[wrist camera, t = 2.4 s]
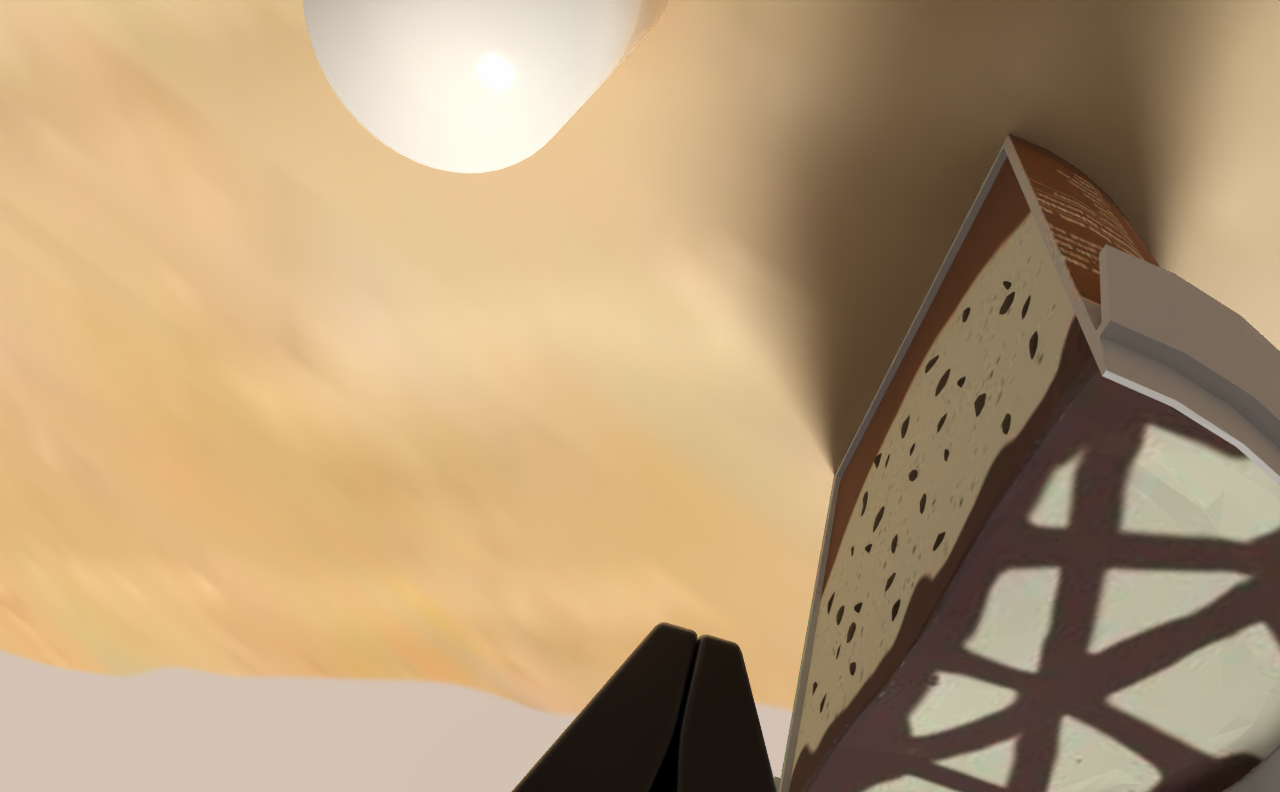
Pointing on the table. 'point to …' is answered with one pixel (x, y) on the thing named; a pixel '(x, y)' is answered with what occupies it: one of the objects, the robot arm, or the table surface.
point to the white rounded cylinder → (471, 69)
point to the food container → (1052, 526)
